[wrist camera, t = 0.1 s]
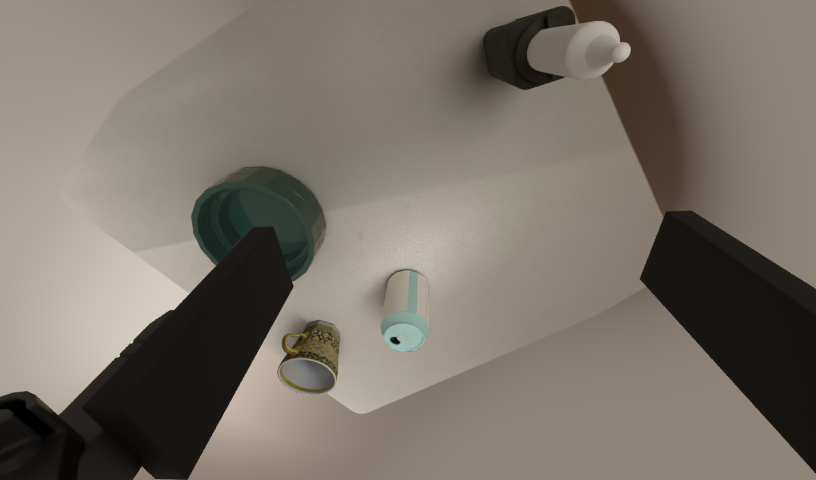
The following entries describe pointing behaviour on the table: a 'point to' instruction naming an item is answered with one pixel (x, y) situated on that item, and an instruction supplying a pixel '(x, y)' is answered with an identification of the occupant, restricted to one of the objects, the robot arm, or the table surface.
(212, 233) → the bowl
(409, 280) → the can
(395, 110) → the table surface
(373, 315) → the table surface
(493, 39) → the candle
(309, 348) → the ceramic cup
